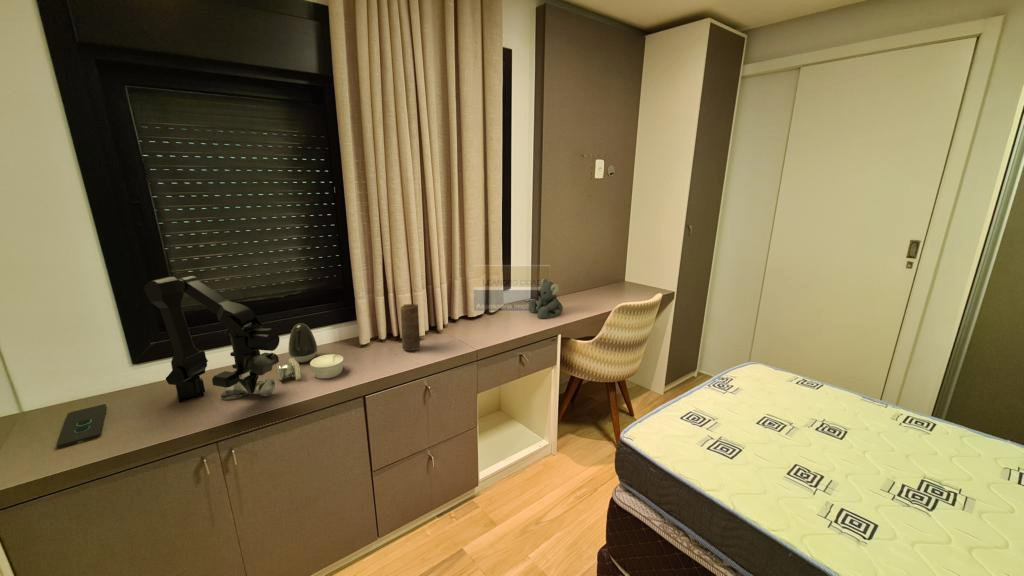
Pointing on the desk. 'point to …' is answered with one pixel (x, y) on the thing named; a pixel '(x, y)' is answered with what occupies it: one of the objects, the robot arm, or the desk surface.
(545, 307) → the koala plush
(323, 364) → the ramekin
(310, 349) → the black egg-shaped dome
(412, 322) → the candle
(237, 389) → the elbow
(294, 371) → the metal pipe fitting
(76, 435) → the smart home device
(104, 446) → the desk surface
